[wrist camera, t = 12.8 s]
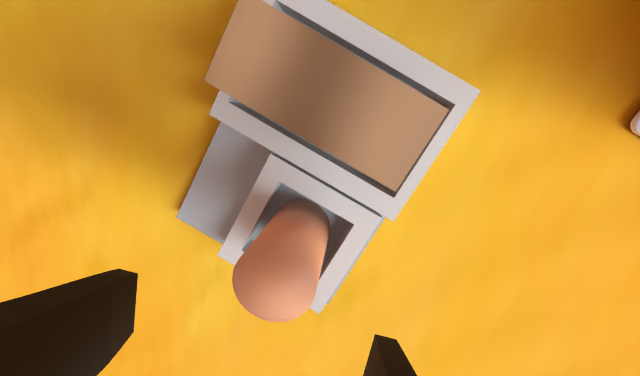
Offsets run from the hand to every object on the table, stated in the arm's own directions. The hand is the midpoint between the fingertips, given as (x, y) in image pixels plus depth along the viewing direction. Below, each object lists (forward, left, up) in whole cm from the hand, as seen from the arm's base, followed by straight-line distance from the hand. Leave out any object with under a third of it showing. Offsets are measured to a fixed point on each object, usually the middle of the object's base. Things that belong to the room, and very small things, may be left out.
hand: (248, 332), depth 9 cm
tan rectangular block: (+2, -7, -9) cm, 12 cm away
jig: (+1, -4, -10) cm, 11 cm away
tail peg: (0, 0, -9) cm, 9 cm away
